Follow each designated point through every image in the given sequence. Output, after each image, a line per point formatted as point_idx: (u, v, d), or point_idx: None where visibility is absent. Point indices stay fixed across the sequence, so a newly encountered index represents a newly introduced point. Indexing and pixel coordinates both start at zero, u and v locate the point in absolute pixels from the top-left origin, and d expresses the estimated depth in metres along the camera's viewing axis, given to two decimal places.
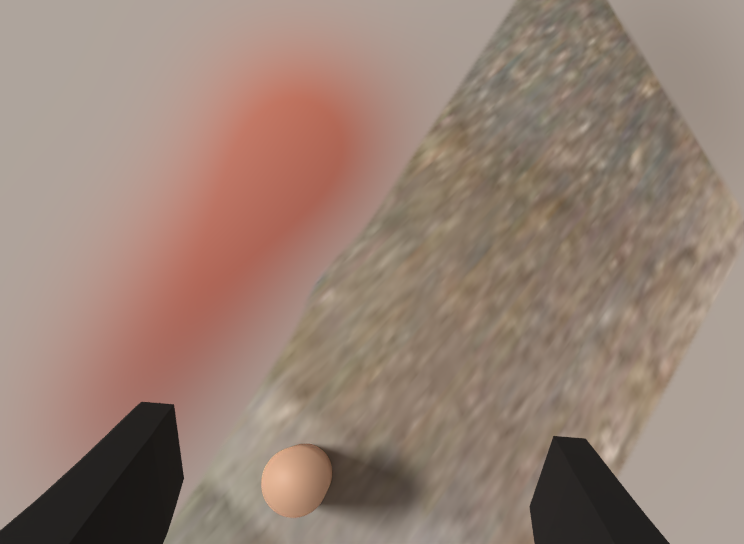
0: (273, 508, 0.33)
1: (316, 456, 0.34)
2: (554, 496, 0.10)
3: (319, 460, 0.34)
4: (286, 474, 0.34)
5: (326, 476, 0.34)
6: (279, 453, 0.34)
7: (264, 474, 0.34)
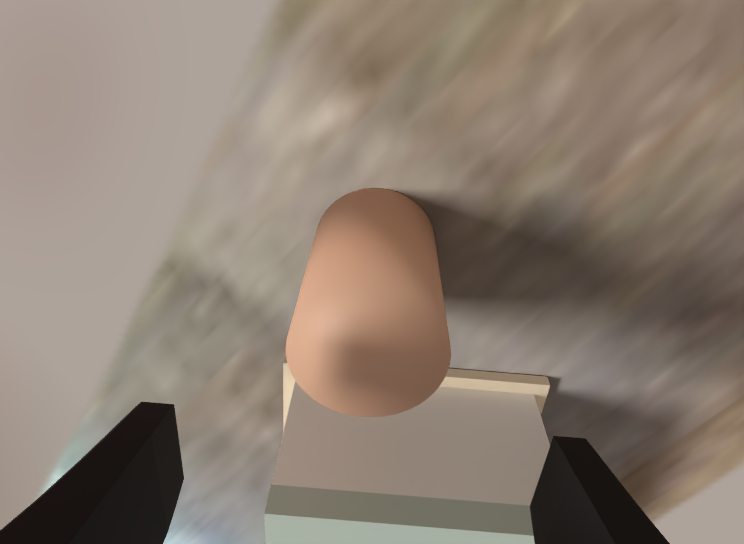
0: (321, 401, 0.14)
1: (423, 306, 0.13)
2: (554, 496, 0.10)
3: (431, 316, 0.13)
4: (348, 342, 0.13)
5: (447, 347, 0.13)
6: (324, 298, 0.13)
7: (291, 341, 0.13)
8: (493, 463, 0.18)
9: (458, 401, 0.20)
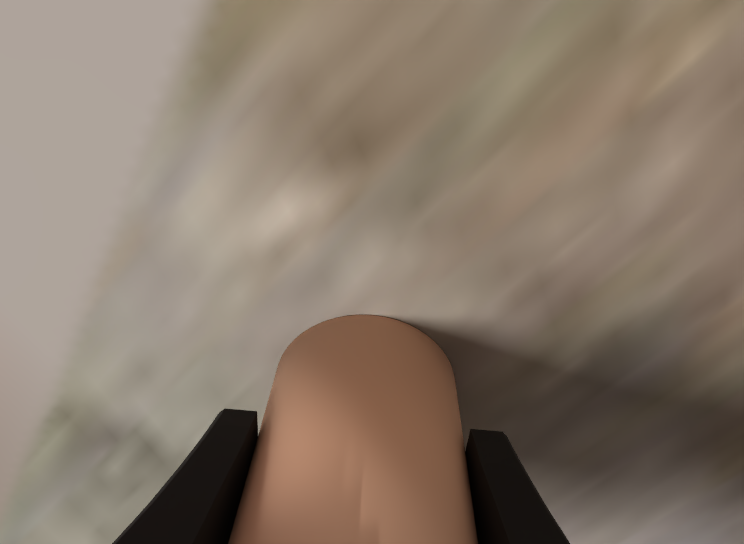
0: None
1: None
2: None
3: None
4: None
5: None
6: None
7: None
8: None
9: None
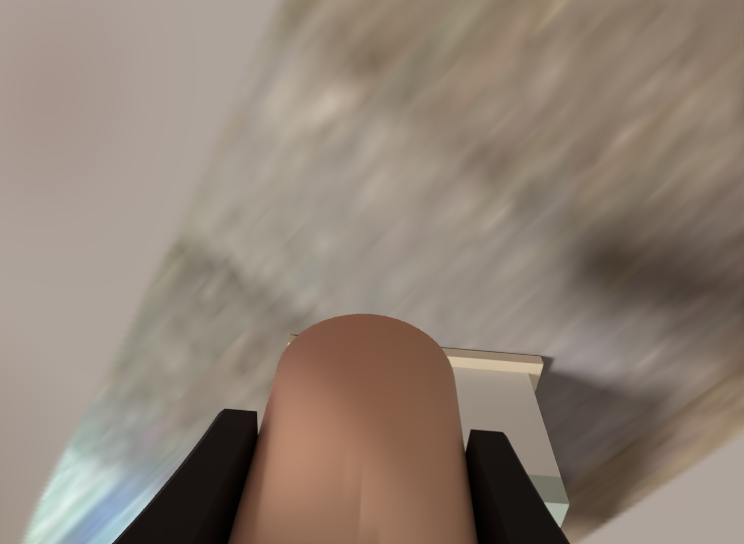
0: None
1: None
2: None
3: None
4: None
5: None
6: None
7: None
8: None
9: (455, 379, 0.21)
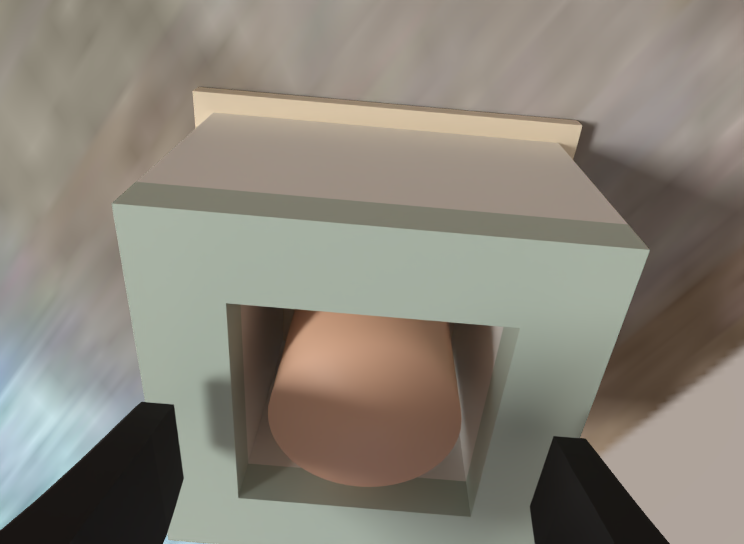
0: (311, 469, 0.12)
1: (428, 367, 0.11)
2: (554, 496, 0.10)
3: (438, 378, 0.11)
4: (340, 406, 0.11)
5: (458, 412, 0.11)
6: (311, 359, 0.11)
7: (274, 405, 0.11)
8: (501, 184, 0.11)
9: (448, 141, 0.14)
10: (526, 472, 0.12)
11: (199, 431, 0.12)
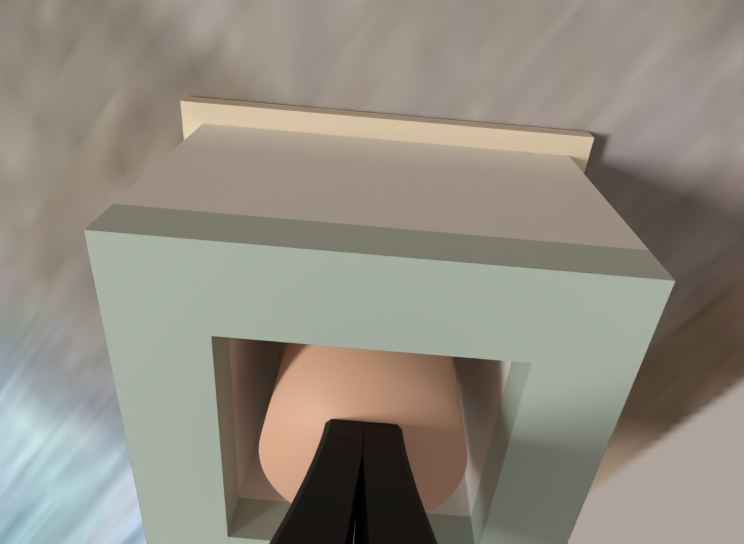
0: None
1: (432, 402, 0.10)
2: (359, 480, 0.10)
3: (442, 414, 0.10)
4: None
5: (463, 449, 0.10)
6: (305, 393, 0.10)
7: (265, 442, 0.10)
8: (509, 204, 0.11)
9: (451, 154, 0.13)
10: (536, 512, 0.11)
11: (185, 469, 0.11)
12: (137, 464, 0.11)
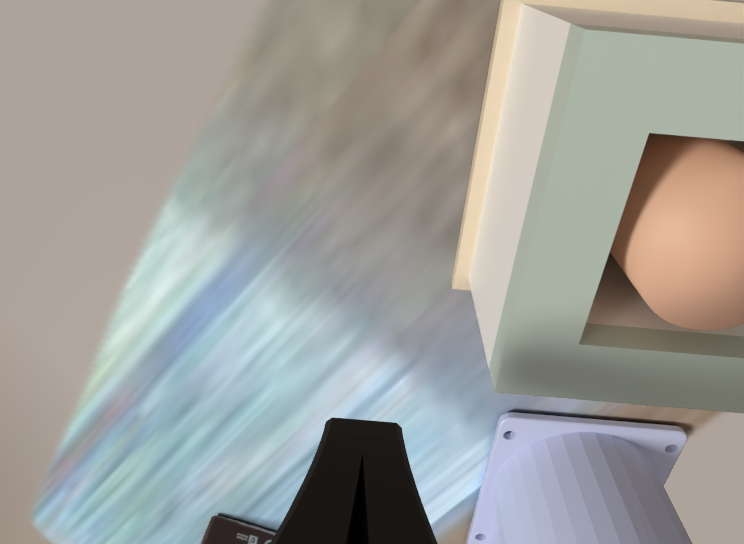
0: (659, 312, 0.13)
1: None
2: None
3: None
4: (713, 242, 0.12)
5: None
6: (705, 191, 0.12)
7: (652, 242, 0.12)
8: None
9: None
10: None
11: (570, 271, 0.13)
12: (531, 267, 0.13)
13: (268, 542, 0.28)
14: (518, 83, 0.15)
